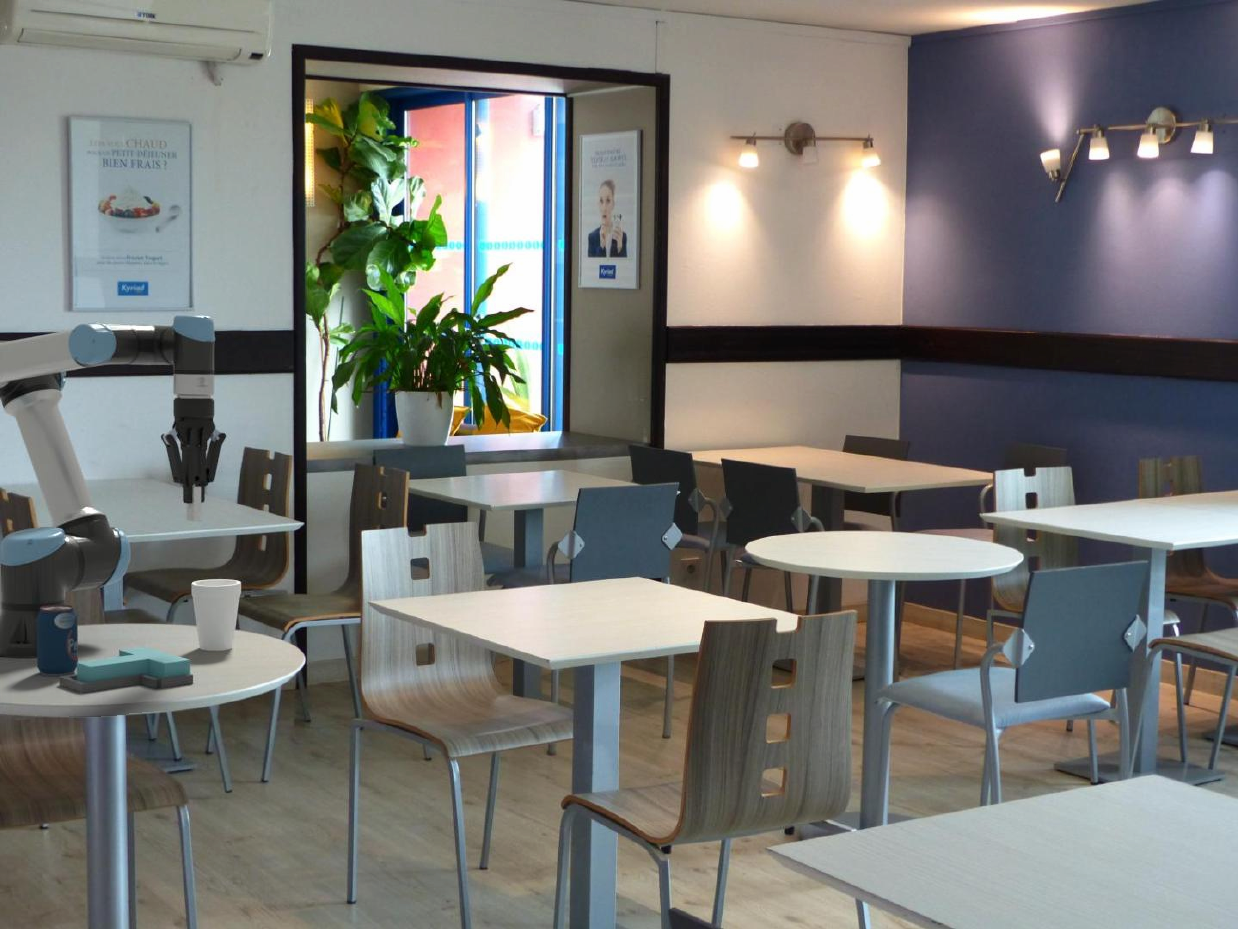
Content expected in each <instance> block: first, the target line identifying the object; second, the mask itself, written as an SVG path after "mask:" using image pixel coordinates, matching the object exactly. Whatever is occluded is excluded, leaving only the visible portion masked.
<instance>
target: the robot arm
mask: <svg viewBox="0 0 1238 929" xmlns="http://www.w3.org/2000/svg"><path fill="white" fill-rule="evenodd" d="M172 323H173V324H172V325H153V324H113V323H112V324H110V323H100V322H89V323H81V324H78V325H76V326H75V327H74V328H73V329H68V330H62V331H58V332H52V333H47V334H43V335H36V336H32V337H25V338H19V339H16V340H15V339H14V340H0V403H1V405H2V408H3V411H4V413H5V414H7V415H9V416H11V417H13V418H15V420H16V424H17V426H18V429H19V432H20V434H21V438H22V440H23V443H24V446H25V448H26V451H27V454H28V457H29V460H30V462H31V463H30V464H31V465H32V467H33V471H34V473H35V476H36V479H37V482H38V485H39V489H40V490H41V491H40V492H41V493H42V496H43V499H44V502H45V505H46V508H47V511H48V514H49V516H50V519H51V522H52V525H51V526H42V527H36V528H26V529H22V530H17V531H14V532H11V533H9V534H7V535H6V536H4V537H3V539H2V541H1V542H0V544H1V546H0V608H1V609H0V657H9V658H37V617H38V615H39V613H40V611H41V610H40V608H41V607H44V606H49V605H66V592H67V593H68V592H74V591H80V590H81V591H82V590H88V589H100V588H104V587H105V586H109V585H114V584H115V583H117V582H119V581H121V579H122V578H123V577H124V576H125V574H126V573H127V570H128V569H129V567H128V566H129V564H130V563H131V562H130V561H131V555H132V554H131V545H130V541H129V538H128V536H127V535H126V534H125V533H124V531H122V530H120V528H118V527H113V526H110V522H109V521H108V518H107V514H106V513H104V512H102V511H100V510H97V509H96V507H95V505H94V504H95V503H94V501H93V498H92V497H91V494H90V490H89V488H88V485H87V482H86V479H85V478H84V474H83V471H82V469H81V466H80V463H79V460H78V457H77V455H76V451H75V449H74V446H73V443H72V441H71V438H70V435H69V432H68V429H67V427H66V424H65V421H64V418H63V414H62V413H61V410H60V407H59V405H58V404H59V403H60V401H61V399H62V397H63V393H62V390H63V389H64V387H65V384H66V381H67V380H66V379H65V377H66V376H67V372H68V371H76V370H78V369H79V370H80V369H87V368H93V367H99V366H106V365H141V366H146V365H147V366H151V365H156V366H157V365H158V366H159V365H161V366H163V365H165V366H167V365H168V366H170V365H171V366H173V370H172V371H173V384H172V385H173V391H172V393H173V395H174V396H176V397H175V398H174V399H173V408H172V410H173V412H172V413H173V419H174V420H173V423H172V426H171V430H169V431H168V432H167V433H162V434H161V435H160V438H161V441H162V442H163V444H164V446H165V449H166V454H167V459H168V462H169V466H170V471H171V475H172V480H173V482H174V484H178V485H180V486H182V490H183V491H182V494H183V496H182V501H183V504H186V520H187V521H190V522H191V521H192V522H200V521H201V522H202V503H205V497H206V495H205V494H206V492H205V491H206V490H205V488H206V487H207V486H208V485H209V484H210V483H214V482H215V478H216V473H217V468H218V465H219V464H218V463H219V459H220V456H221V450H222V445H223V443H224V442H225V440H226V438H227V433H225V432H221V431H219V430H218V429H217V428H216V424H215V422H214V417H215V400H214V398H212V396H214V395H215V342H216V337H215V335H216V334H215V323H214V320H213V318H212V317H211V316H208V315H183V314H182V315H181V314H180V315H176V316H174V318H173V322H172ZM178 440H179V442H180V444H179V445H180V448H179V445H178V442H177V441H178ZM209 440H210V442H209V444H208V441H209ZM180 451H181V453H180Z"/></svg>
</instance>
